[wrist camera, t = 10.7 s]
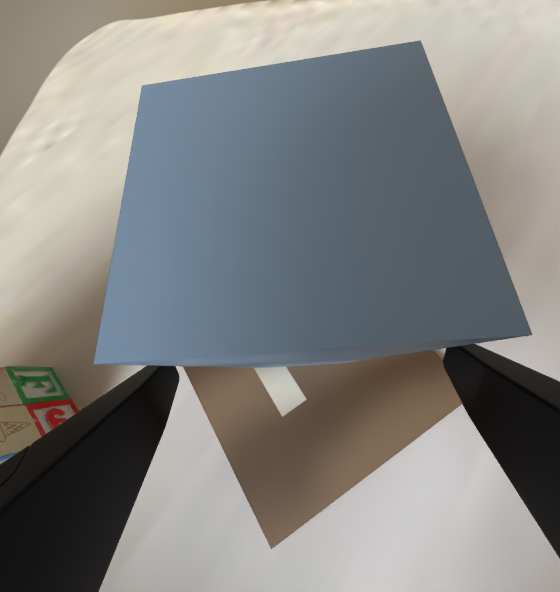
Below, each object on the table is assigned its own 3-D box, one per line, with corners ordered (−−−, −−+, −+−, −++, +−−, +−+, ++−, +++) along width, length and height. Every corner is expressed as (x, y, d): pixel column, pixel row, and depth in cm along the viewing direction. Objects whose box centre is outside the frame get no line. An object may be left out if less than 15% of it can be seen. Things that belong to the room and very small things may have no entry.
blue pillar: (342, 363, 15) (533, 335, 2) (264, 368, 15) (92, 363, 3) (333, 288, 16) (420, 40, 4) (261, 294, 17) (141, 84, 4)
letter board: (466, 394, 14) (473, 395, 14) (272, 541, 13) (271, 549, 12) (284, 183, 20) (283, 177, 20) (140, 270, 19) (135, 267, 18)
